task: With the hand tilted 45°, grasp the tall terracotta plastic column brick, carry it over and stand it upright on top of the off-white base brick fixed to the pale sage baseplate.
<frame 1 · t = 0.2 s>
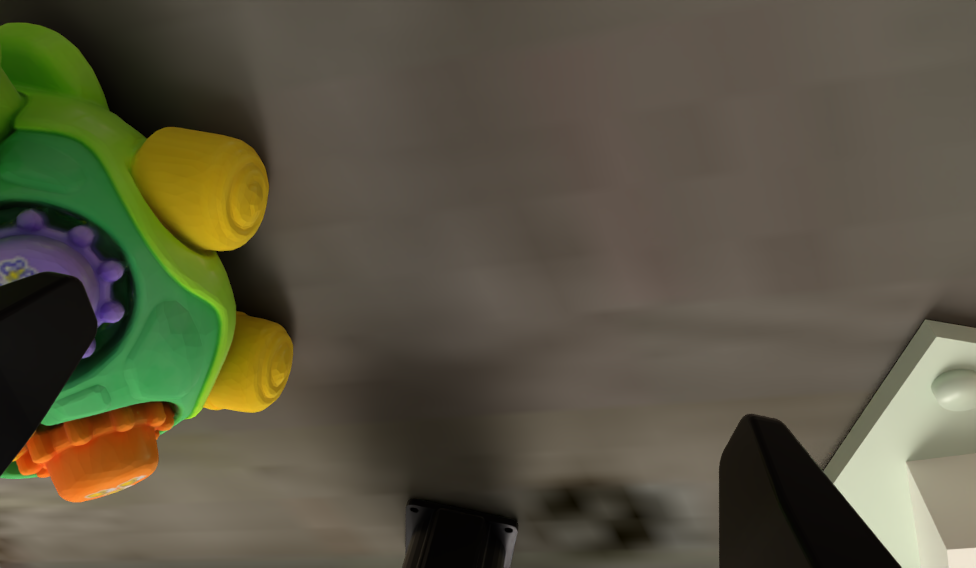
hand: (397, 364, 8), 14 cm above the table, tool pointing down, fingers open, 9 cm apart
turtle toy: (105, 177, 26), on the table
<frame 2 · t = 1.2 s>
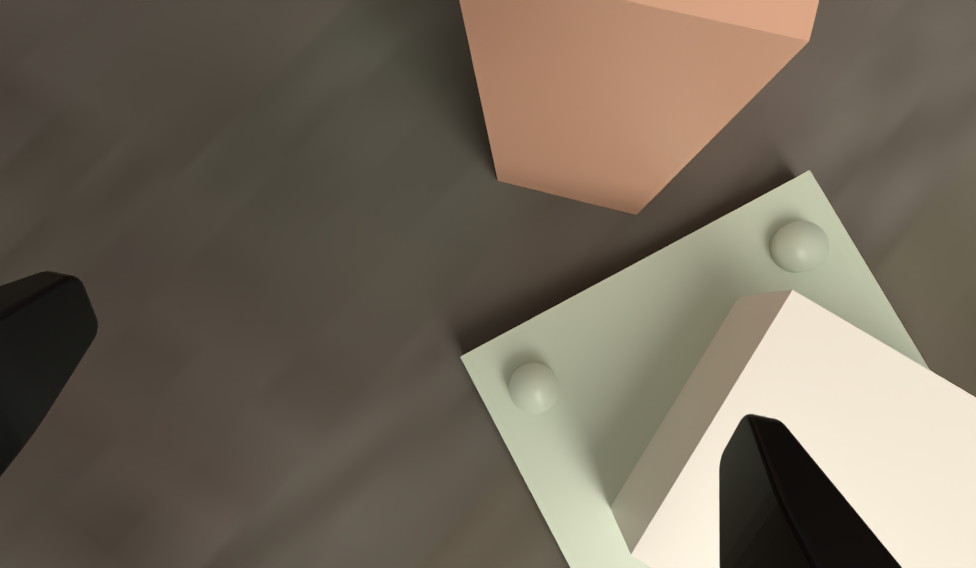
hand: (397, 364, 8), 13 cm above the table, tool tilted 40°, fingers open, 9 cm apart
column brick: (584, 130, 21), on the table
tower base: (745, 476, 20), on the table
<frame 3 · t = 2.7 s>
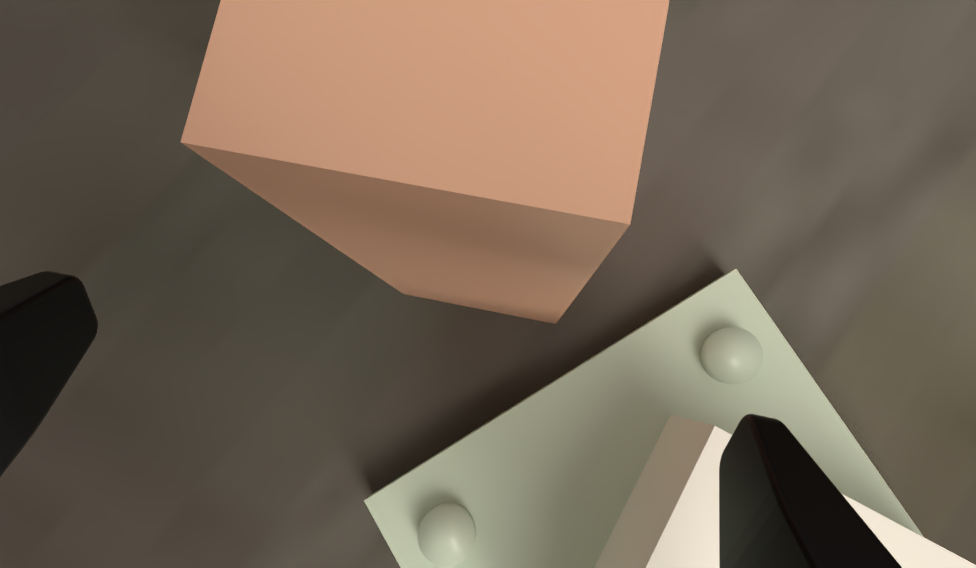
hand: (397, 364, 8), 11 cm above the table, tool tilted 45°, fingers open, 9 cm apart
column brick: (494, 234, 20), on the table
when the fingers open (12 cm above the table, at t = 7.9 s): column brick stays where it is, resting on tower base.
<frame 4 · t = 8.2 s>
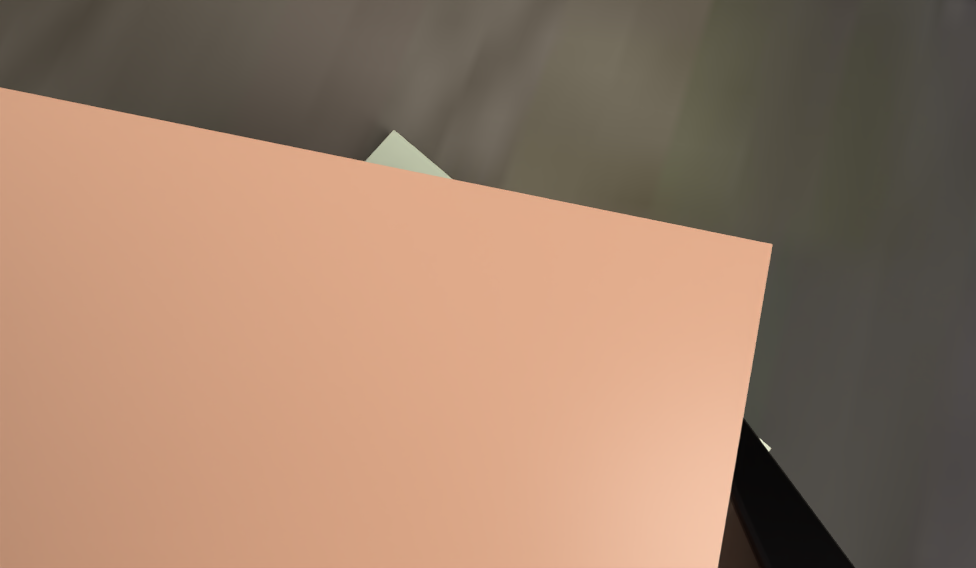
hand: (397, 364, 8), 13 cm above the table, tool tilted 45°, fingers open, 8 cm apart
column brick: (446, 421, 15), point 5 cm above the table, touching tower base
tower base: (444, 429, 20), on the table
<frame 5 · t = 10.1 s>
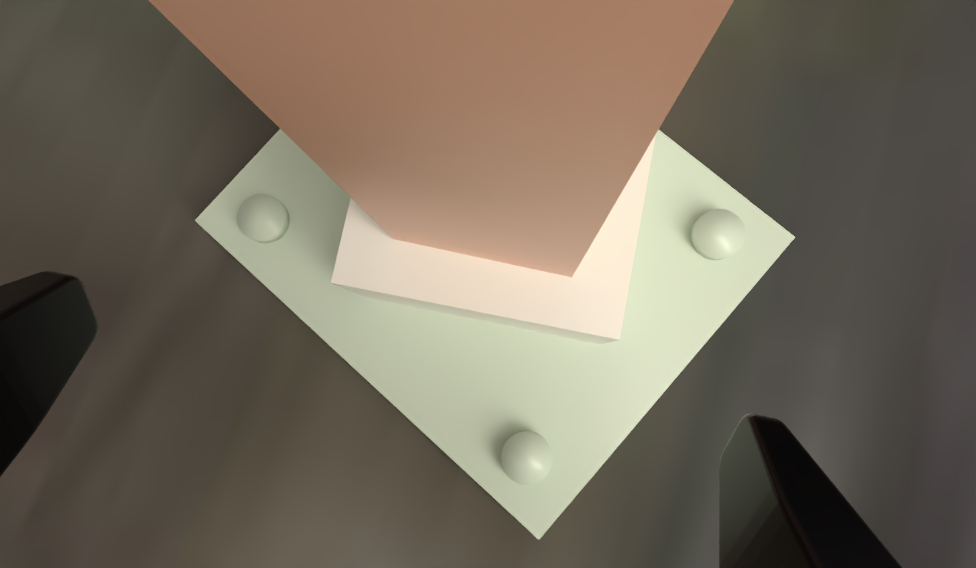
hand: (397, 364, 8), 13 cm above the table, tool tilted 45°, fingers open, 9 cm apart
column brick: (501, 171, 17), point 5 cm above the table, touching tower base
tower base: (487, 234, 22), on the table
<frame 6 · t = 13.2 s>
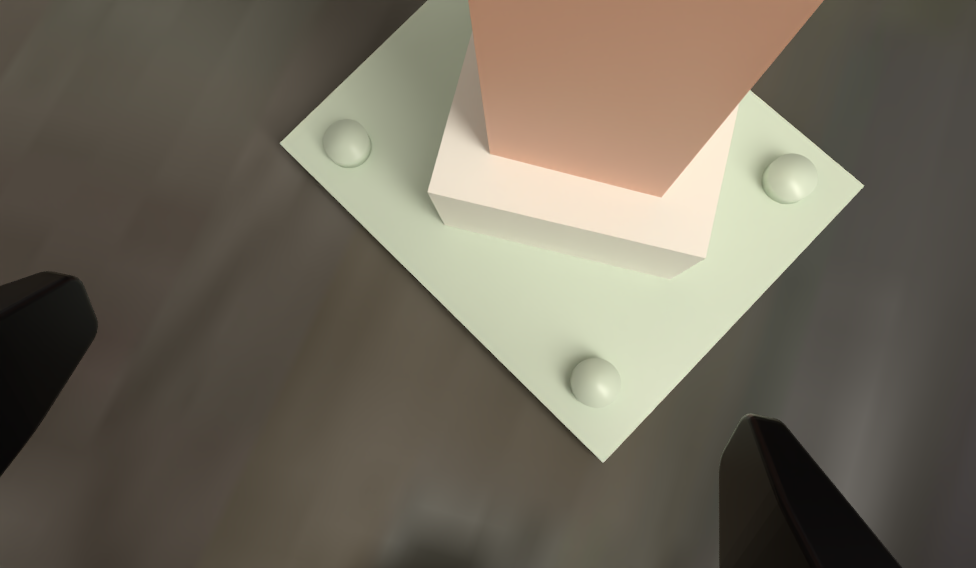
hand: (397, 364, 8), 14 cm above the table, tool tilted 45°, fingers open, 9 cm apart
column brick: (596, 94, 17), point 5 cm above the table, touching tower base
tower base: (560, 173, 22), on the table
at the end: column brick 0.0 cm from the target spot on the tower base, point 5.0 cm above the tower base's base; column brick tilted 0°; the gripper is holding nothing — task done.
